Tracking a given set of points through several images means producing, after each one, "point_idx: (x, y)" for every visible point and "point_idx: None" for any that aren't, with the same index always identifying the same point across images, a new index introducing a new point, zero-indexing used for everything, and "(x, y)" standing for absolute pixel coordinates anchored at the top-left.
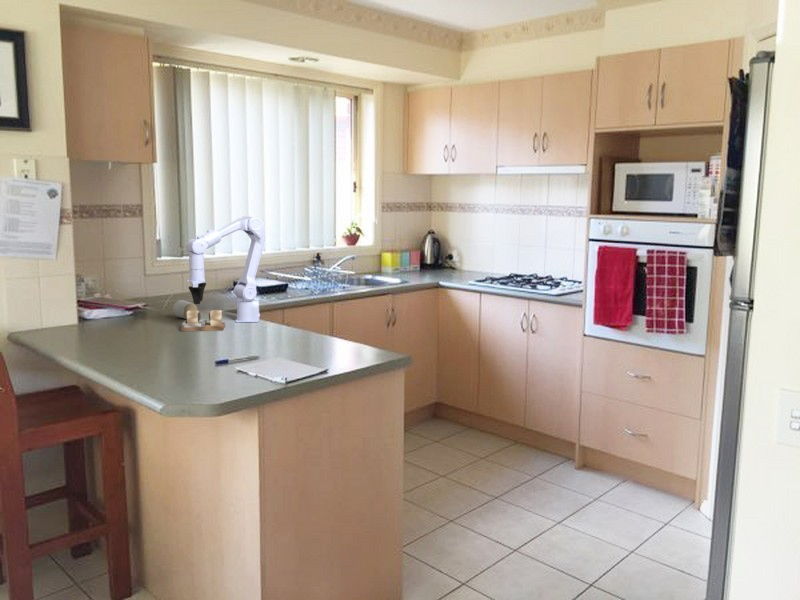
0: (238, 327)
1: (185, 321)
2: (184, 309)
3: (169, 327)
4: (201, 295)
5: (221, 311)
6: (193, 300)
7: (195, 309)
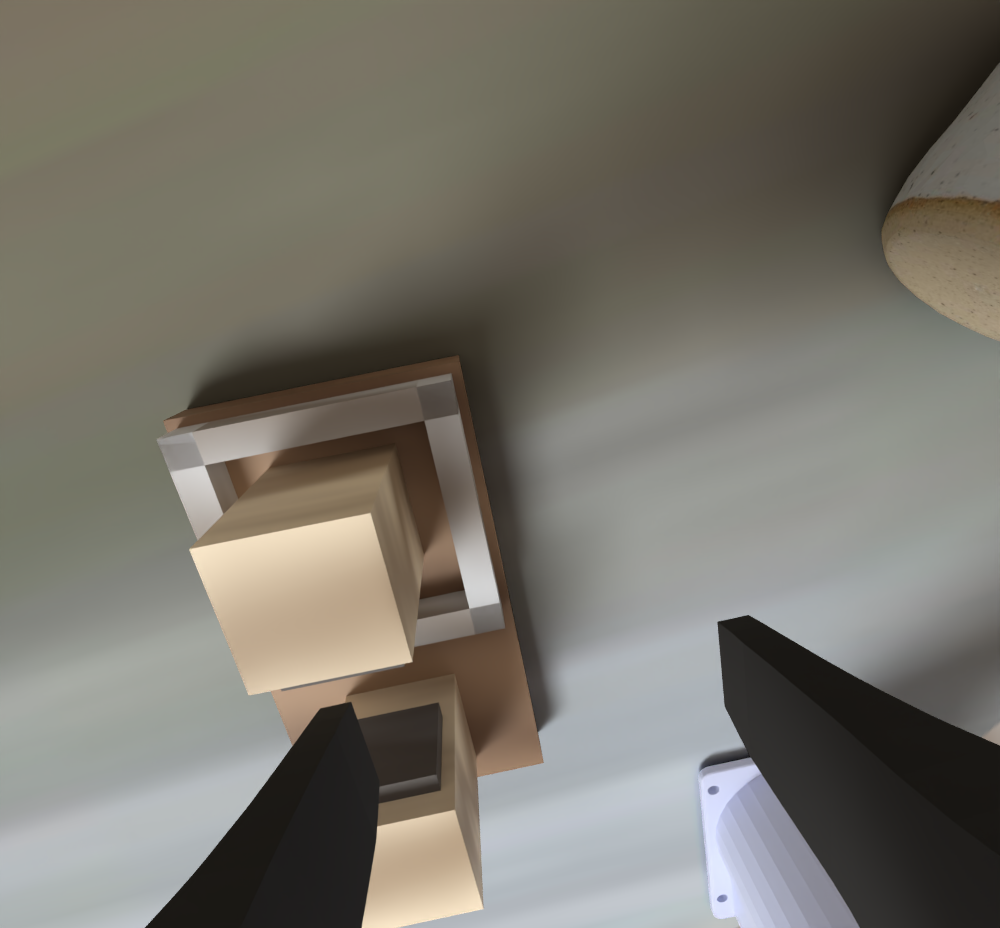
0: (492, 840)
1: (357, 420)
2: (968, 200)
3: (373, 173)
4: (793, 801)
5: (457, 901)
6: (274, 771)
7: None
